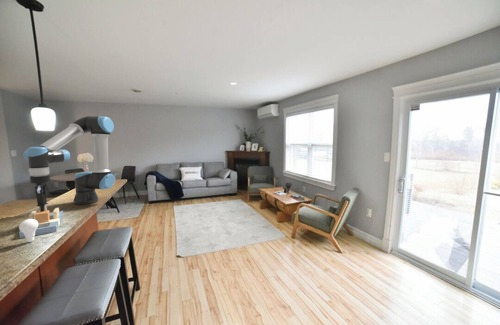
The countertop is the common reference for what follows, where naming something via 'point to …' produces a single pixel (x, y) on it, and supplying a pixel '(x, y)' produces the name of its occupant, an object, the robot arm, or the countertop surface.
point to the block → (42, 216)
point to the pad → (48, 223)
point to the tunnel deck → (51, 227)
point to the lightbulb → (29, 229)
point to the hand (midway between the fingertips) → (43, 216)
